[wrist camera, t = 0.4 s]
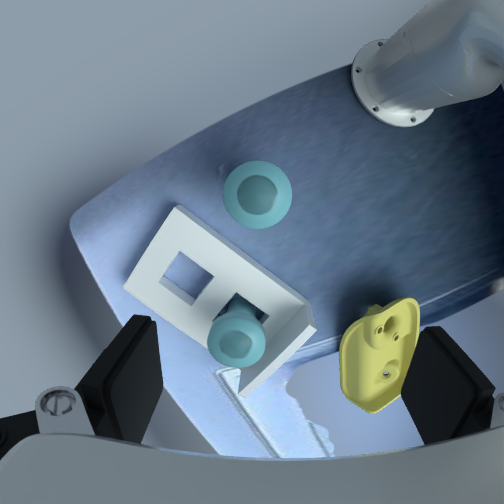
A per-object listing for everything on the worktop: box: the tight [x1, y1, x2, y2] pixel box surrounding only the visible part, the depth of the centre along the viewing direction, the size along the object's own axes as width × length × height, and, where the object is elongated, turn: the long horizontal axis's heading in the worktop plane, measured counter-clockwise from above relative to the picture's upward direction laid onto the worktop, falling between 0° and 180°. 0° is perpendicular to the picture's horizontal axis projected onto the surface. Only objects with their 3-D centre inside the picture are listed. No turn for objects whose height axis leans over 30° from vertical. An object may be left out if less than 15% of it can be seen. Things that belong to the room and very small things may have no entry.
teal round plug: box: [223, 161, 292, 229], centre depth 35 cm, size 7×7×9 cm
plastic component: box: [339, 297, 420, 414], centre depth 43 cm, size 20×7×10 cm
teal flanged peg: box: [207, 298, 265, 368], centre depth 40 cm, size 7×7×9 cm
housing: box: [123, 204, 317, 398], centre depth 40 cm, size 14×22×8 cm, turn 52°
